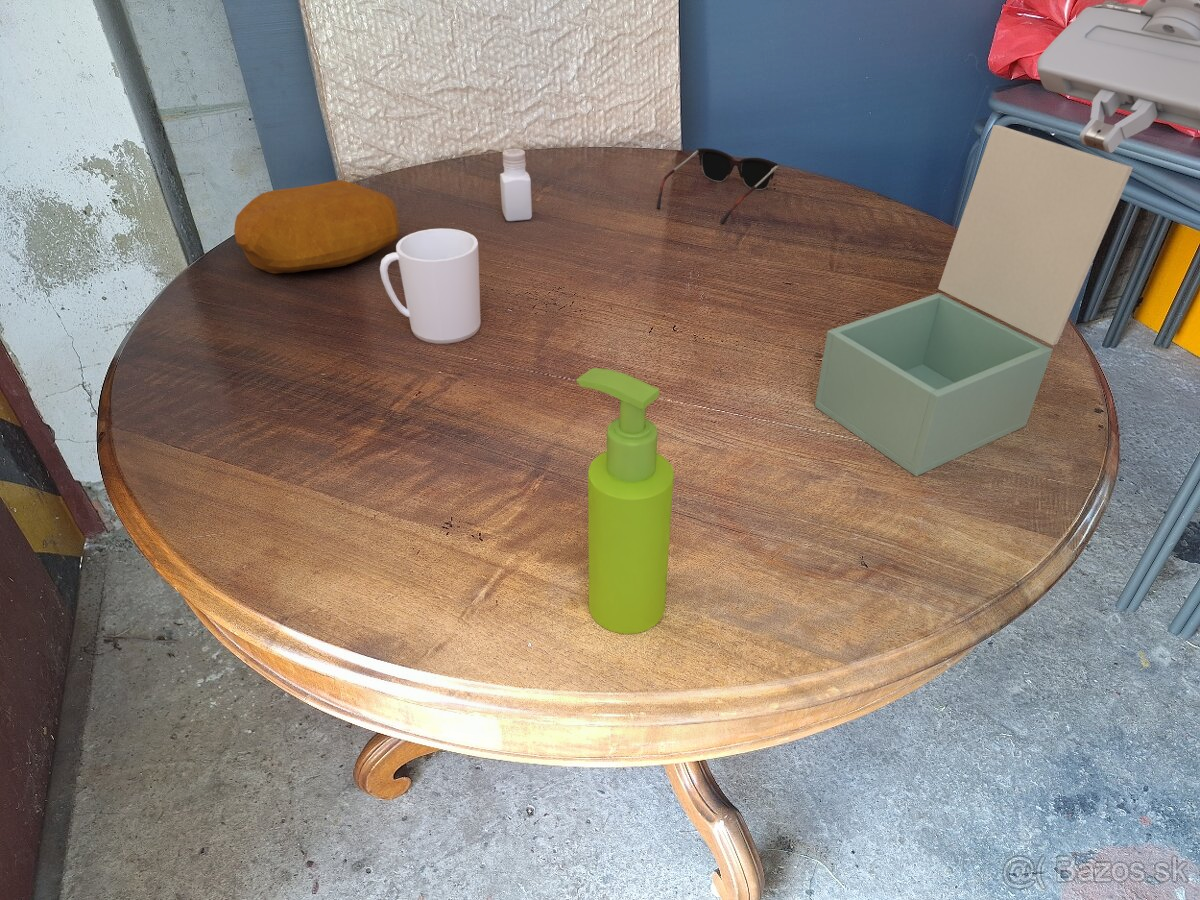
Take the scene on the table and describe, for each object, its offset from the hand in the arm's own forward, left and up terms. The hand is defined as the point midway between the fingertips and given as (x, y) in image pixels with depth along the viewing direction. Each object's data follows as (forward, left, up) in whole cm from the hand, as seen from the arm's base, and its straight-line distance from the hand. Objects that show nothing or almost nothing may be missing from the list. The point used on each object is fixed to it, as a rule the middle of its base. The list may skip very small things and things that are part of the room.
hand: (1094, 145), depth 82 cm
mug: (+63, +14, -25) cm, 69 cm away
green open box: (+9, +12, -25) cm, 29 cm away
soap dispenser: (+28, +47, -25) cm, 60 cm away
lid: (+4, +5, -7) cm, 10 cm away
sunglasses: (+44, -37, -25) cm, 63 cm away
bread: (+86, +3, -25) cm, 90 cm away
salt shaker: (+69, -20, -25) cm, 76 cm away
